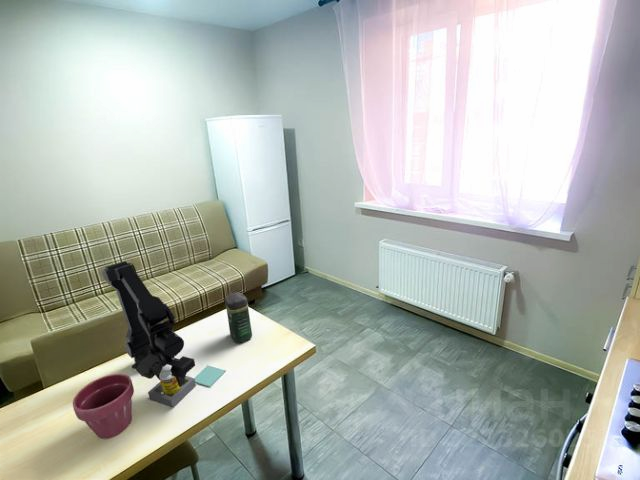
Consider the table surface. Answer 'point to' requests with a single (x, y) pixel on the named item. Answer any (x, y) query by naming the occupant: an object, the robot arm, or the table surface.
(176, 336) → the robot arm
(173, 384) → the supplement bottle
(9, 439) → the table surface
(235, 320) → the coffee jar
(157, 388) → the socket
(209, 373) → the mat
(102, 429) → the plant pot
